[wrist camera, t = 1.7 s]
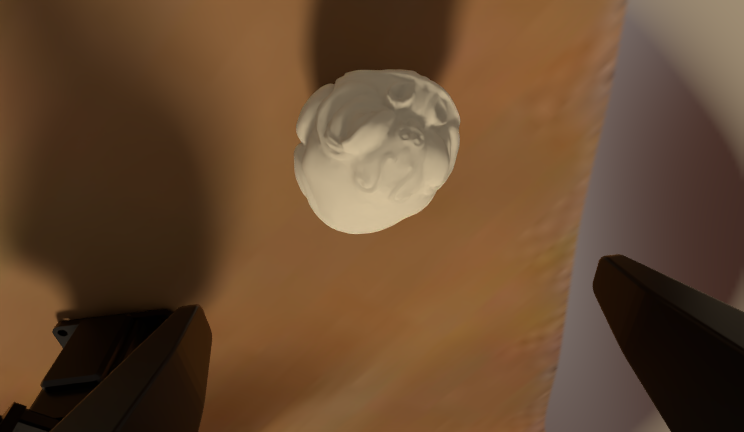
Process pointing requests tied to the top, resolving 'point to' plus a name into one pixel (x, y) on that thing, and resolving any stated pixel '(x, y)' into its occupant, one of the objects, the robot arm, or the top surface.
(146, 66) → the top surface
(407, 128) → the frog figurine
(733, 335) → the robot arm
